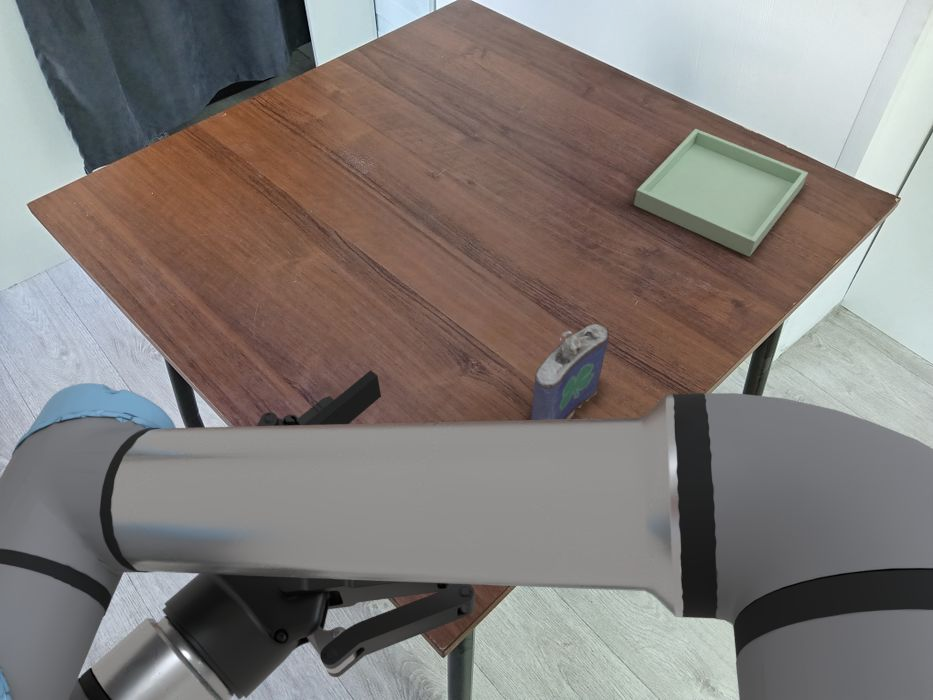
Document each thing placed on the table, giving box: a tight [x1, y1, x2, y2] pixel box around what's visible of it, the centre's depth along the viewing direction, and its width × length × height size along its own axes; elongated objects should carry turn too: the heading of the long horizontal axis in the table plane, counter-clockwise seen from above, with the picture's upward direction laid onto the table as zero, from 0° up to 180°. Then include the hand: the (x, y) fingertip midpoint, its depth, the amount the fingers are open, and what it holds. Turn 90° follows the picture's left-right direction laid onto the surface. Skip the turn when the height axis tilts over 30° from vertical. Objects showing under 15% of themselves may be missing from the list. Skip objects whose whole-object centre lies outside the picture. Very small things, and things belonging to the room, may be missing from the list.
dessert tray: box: [633, 128, 809, 258], centre depth 95 cm, size 15×15×2 cm
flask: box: [530, 323, 610, 420], centre depth 73 cm, size 9×3×11 cm, turn 136°
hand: (441, 433), depth 56 cm, fingers open, 13 cm apart
